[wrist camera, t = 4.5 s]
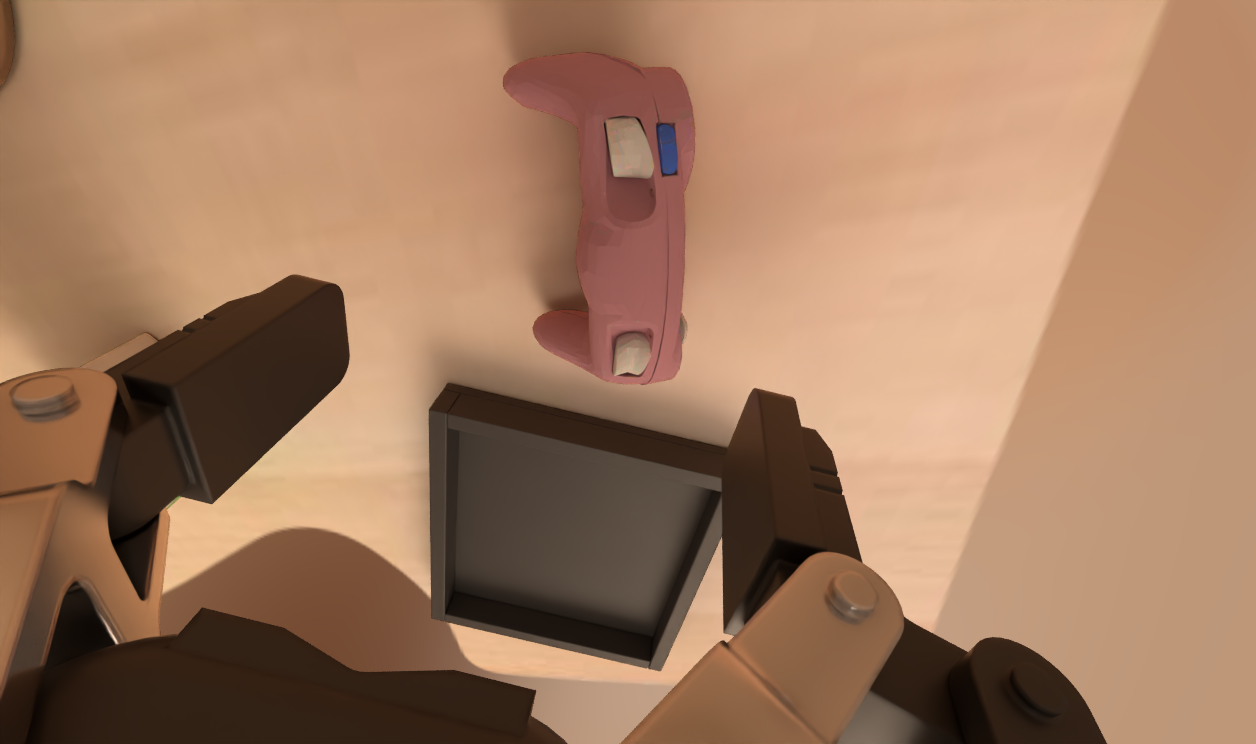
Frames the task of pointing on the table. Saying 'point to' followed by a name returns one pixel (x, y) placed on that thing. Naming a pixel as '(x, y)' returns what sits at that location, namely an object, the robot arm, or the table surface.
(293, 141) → the table surface
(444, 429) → the tray
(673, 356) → the video game controller
